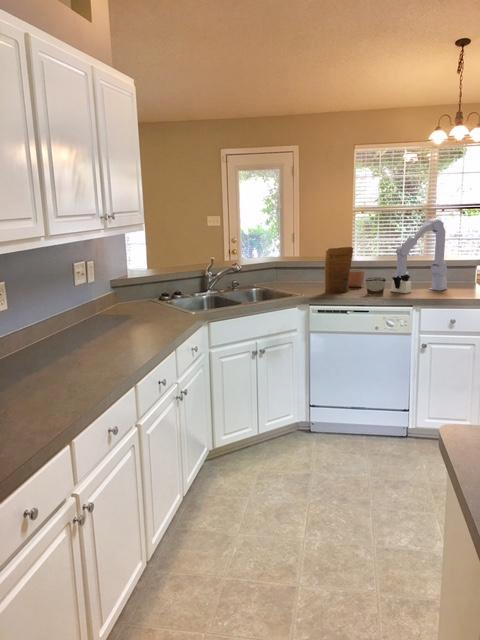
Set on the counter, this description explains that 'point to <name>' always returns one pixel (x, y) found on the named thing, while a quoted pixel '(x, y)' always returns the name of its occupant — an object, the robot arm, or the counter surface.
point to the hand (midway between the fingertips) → (400, 287)
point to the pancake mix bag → (337, 269)
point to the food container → (375, 285)
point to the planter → (356, 278)
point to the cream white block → (402, 287)
